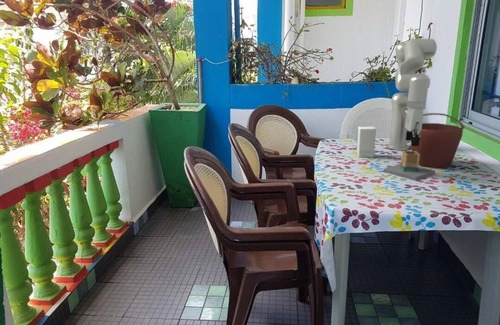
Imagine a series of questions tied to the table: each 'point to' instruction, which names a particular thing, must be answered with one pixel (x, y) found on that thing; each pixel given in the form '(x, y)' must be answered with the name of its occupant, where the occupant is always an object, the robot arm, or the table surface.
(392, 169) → the pin board
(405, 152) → the wooden sleeve
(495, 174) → the table surface
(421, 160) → the bucket
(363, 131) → the skincare box
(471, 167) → the table surface
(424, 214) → the table surface
